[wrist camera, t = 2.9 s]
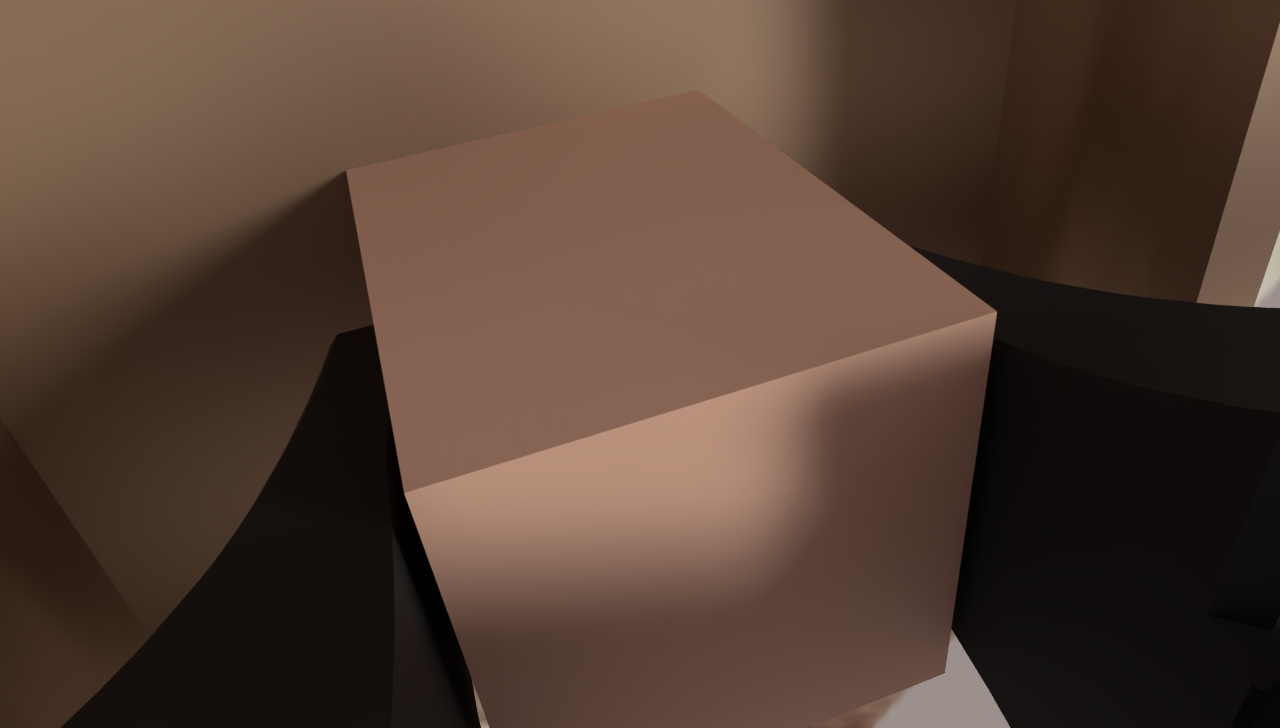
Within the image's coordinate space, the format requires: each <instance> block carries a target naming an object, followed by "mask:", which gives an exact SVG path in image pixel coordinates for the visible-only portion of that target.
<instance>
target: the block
mask: <svg viewBox="0 0 1280 728" xmlns="http://www.w3.org/2000/svg"><path fill="white" fill-rule="evenodd" d="M346 173H347V179H348V184H349V190H350V195H351V201H352V206H353V212H354V217H355V223H356V229H357V234H358V240H359V245H360V251H361V256H362V262H363V267H364V273H365V278H366V284H367V290H368V295H369V301H370V306H371V312H372V317H373V323H374V328H375V334H376V340H377V345H378V351H379V356H380V362H381V367H382V373H383V378H384V384H385V389H386V395H387V401H388V406H389V412H390V417H391V423H392V428H393V434H394V439H395V445H396V451H397V456H398V462H399V467H400V473H401V478H402V484H403V489H404V494H405V497H406V500H407V502H408V505H409V508H410V510H411V513H412V516H413V519H414V521H415V524H416V527H417V530H418V532H419V535H420V538H421V541H422V543H423V546H424V549H425V552H426V554H427V557H428V560H429V563H430V565H431V568H432V571H433V573H434V576H435V579H436V582H437V584H438V587H439V590H440V593H441V595H442V598H443V601H444V604H445V606H446V609H447V612H448V615H449V617H450V620H451V623H452V626H453V628H454V631H455V634H456V636H457V639H458V642H459V645H460V647H461V650H462V653H463V656H464V658H465V661H466V664H467V667H468V669H469V672H470V675H471V678H472V680H473V683H474V686H475V689H476V691H477V694H478V697H479V700H480V702H481V705H482V708H483V710H484V713H485V716H486V719H487V721H488V724H489V727H490V728H808V727H810V726H813V725H815V724H818V723H821V722H823V721H826V720H828V719H831V718H833V717H836V716H838V715H841V714H843V713H846V712H848V711H851V710H853V709H856V708H858V707H861V706H863V705H866V704H868V703H871V702H873V701H876V700H878V699H881V698H883V697H886V696H888V695H891V694H894V693H896V692H899V691H901V690H904V689H906V688H909V687H911V686H914V685H916V684H919V683H921V682H923V681H926V680H929V679H931V678H934V677H936V676H939V675H941V674H944V673H945V667H946V660H947V654H948V647H949V640H950V633H951V626H952V619H953V612H954V605H955V599H956V592H957V585H958V578H959V571H960V564H961V557H962V550H963V543H964V536H965V530H966V523H967V516H968V509H969V502H970V495H971V488H972V481H973V474H974V467H975V461H976V454H977V447H978V440H979V433H980V426H981V419H982V412H983V405H984V399H985V392H986V385H987V378H988V371H989V364H990V357H991V350H992V343H993V336H994V330H995V323H996V316H997V311H996V310H994V309H993V308H992V307H990V306H989V305H988V304H986V303H985V302H984V301H982V300H981V299H980V298H978V297H977V296H976V295H974V294H973V293H971V292H970V291H969V290H967V289H966V288H965V287H963V286H962V285H961V284H959V283H958V282H957V281H955V280H954V279H953V278H951V277H950V276H949V275H947V274H946V273H945V272H943V271H942V270H941V269H939V268H938V267H937V266H935V265H934V264H932V263H931V262H930V261H928V260H927V259H926V258H924V257H923V256H922V255H920V254H919V253H918V252H916V251H915V250H914V249H912V248H911V247H910V246H908V245H907V244H906V243H904V242H903V241H902V240H900V239H899V238H897V237H896V236H895V235H893V234H892V233H891V232H889V231H888V230H887V229H885V228H884V227H883V226H881V225H880V224H879V223H877V222H876V221H875V220H873V219H872V218H871V217H869V216H868V215H867V214H865V213H864V212H862V211H861V210H860V209H858V208H857V207H856V206H854V205H853V204H852V203H850V202H849V201H848V200H846V199H845V198H844V197H842V196H841V195H840V194H838V193H837V192H836V191H834V190H833V189H832V188H830V187H829V186H828V185H826V184H825V183H823V182H822V181H821V180H819V179H818V178H817V177H815V176H814V175H813V174H811V173H810V172H809V171H807V170H806V169H805V168H803V167H802V166H801V165H799V164H798V163H797V162H795V161H794V160H793V159H791V158H790V157H788V156H787V155H786V154H784V153H783V152H782V151H780V150H779V149H778V148H776V147H775V146H774V145H772V144H771V143H770V142H768V141H767V140H766V139H764V138H763V137H762V136H760V135H759V134H758V133H756V132H755V131H753V130H752V129H751V128H749V127H748V126H747V125H745V124H744V123H743V122H741V121H740V120H739V119H737V118H736V117H735V116H733V115H732V114H731V113H729V112H728V111H727V110H725V109H724V108H723V107H721V106H720V105H719V104H717V103H716V102H714V101H713V100H712V99H710V98H709V97H708V96H706V95H705V94H704V93H702V92H701V91H700V90H694V91H690V92H686V93H681V94H677V95H672V96H668V97H664V98H659V99H655V100H651V101H646V102H642V103H638V104H633V105H629V106H624V107H620V108H616V109H611V110H607V111H603V112H598V113H594V114H589V115H585V116H581V117H576V118H572V119H568V120H563V121H559V122H554V123H550V124H546V125H541V126H537V127H533V128H528V129H524V130H520V131H515V132H511V133H506V134H502V135H498V136H493V137H489V138H485V139H480V140H476V141H471V142H467V143H463V144H458V145H454V146H450V147H445V148H441V149H437V150H432V151H428V152H423V153H419V154H415V155H410V156H406V157H402V158H397V159H393V160H388V161H384V162H380V163H375V164H371V165H367V166H362V167H358V168H354V169H349V170H346Z"/></svg>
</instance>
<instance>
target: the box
mask: <svg viewBox="0 0 1280 728" xmlns="http://www.w3.org/2000/svg"><path fill="white" fill-rule="evenodd" d="M694 90H700V91H701V92H702V93H704V94H705V95H706V96H708V97H709V98H710V99H712V100H713V101H714V102H716V103H717V104H719V105H720V106H721V107H723V108H724V109H725V110H727V111H728V112H729V113H731V114H732V115H733V116H735V117H736V118H737V119H739V120H740V121H741V122H743V123H744V124H745V125H747V126H748V127H749V128H751V129H752V130H753V131H755V132H756V133H758V134H759V135H760V136H762V137H763V138H764V139H766V140H767V141H768V142H770V143H771V144H772V145H774V146H775V147H776V148H778V149H779V150H780V151H782V152H783V153H784V154H786V155H787V156H788V157H790V158H791V159H793V160H794V161H795V162H797V163H798V164H799V165H801V166H802V167H803V168H805V169H806V170H807V171H809V172H810V173H811V174H813V175H814V176H815V177H817V178H818V179H819V180H821V181H822V182H823V183H825V184H826V185H828V186H829V187H830V188H832V189H833V190H834V191H836V192H837V193H838V194H840V195H841V196H842V197H844V198H845V199H846V200H848V201H849V202H850V203H852V204H853V205H854V206H856V207H857V208H858V209H860V210H861V211H862V212H864V213H865V214H867V215H868V216H869V217H871V218H872V219H873V220H875V221H876V222H877V223H879V224H880V225H881V226H883V227H884V228H885V229H887V230H888V231H889V232H891V233H892V234H893V235H895V236H896V237H897V238H899V239H900V240H902V241H903V242H904V243H906V244H907V245H909V246H913V247H916V248H919V249H923V250H926V251H929V252H933V253H936V254H940V255H943V256H947V257H950V258H954V259H957V260H961V261H965V262H968V263H972V264H976V265H980V266H984V267H988V268H992V269H996V270H1000V271H1004V272H1008V273H1012V274H1016V275H1020V276H1025V277H1029V278H1034V279H1039V280H1043V281H1048V282H1054V283H1059V284H1065V285H1071V286H1076V287H1082V288H1088V289H1093V290H1099V291H1105V292H1111V293H1118V294H1125V295H1132V296H1140V297H1147V298H1157V299H1167V300H1176V301H1186V302H1196V303H1205V304H1216V305H1231V306H1246V307H1254V304H1255V301H1256V298H1257V295H1258V292H1259V289H1260V287H1261V284H1262V281H1263V278H1264V275H1265V272H1266V269H1267V266H1268V263H1269V260H1270V257H1271V254H1272V251H1273V249H1274V246H1275V243H1276V240H1277V237H1278V234H1279V231H1280V0H0V728H61V727H62V726H63V725H64V724H65V723H66V722H67V721H68V720H69V719H70V718H71V717H72V716H73V715H74V714H75V713H76V712H77V711H78V710H79V709H80V708H81V707H82V706H83V705H85V704H86V703H87V702H88V701H89V700H90V699H91V698H92V697H93V696H94V695H95V694H96V693H97V692H98V691H99V690H100V689H101V688H102V687H103V686H104V685H105V684H106V683H107V682H108V681H109V680H110V679H111V678H112V677H113V676H114V675H115V674H116V673H117V672H118V671H119V670H120V669H121V668H122V667H123V666H124V664H125V663H126V662H127V661H128V660H129V659H130V658H131V657H132V656H133V655H134V654H135V653H136V652H137V651H138V650H139V649H140V648H141V647H142V646H143V645H144V643H145V642H146V641H147V640H148V639H149V638H150V636H151V635H152V634H153V633H154V632H155V631H156V630H157V628H158V627H159V626H160V625H161V624H162V623H163V621H164V620H165V619H166V618H167V617H168V616H169V615H170V613H171V612H172V611H173V610H174V609H175V608H176V606H177V605H178V604H179V603H180V602H181V601H182V599H183V598H184V597H185V596H186V595H187V594H188V593H189V591H190V590H191V589H192V588H193V587H194V586H195V584H196V583H197V582H198V581H199V580H200V579H201V577H202V576H203V575H204V574H205V572H206V571H207V570H208V569H209V567H210V566H211V565H212V563H213V562H214V561H215V559H216V558H217V557H218V555H219V554H220V553H221V551H222V550H223V549H224V547H225V546H226V544H227V543H228V542H229V540H230V539H231V537H232V536H233V535H234V533H235V532H236V530H237V529H238V527H239V526H240V524H241V523H242V521H243V520H244V518H245V516H246V515H247V513H248V512H249V510H250V509H251V507H252V506H253V504H254V502H255V501H256V499H257V497H258V496H259V494H260V492H261V490H262V489H263V487H264V485H265V483H266V482H267V480H268V478H269V476H270V475H271V473H272V471H273V469H274V468H275V466H276V464H277V462H278V461H279V459H280V457H281V455H282V454H283V452H284V450H285V448H286V446H287V444H288V442H289V440H290V438H291V436H292V434H293V432H294V430H295V428H296V426H297V423H298V421H299V419H300V417H301V415H302V413H303V411H304V409H305V407H306V405H307V403H308V400H309V398H310V396H311V393H312V391H313V389H314V386H315V384H316V382H317V379H318V377H319V374H320V372H321V369H322V367H323V364H324V362H325V359H326V356H327V354H328V351H329V348H330V345H331V344H332V342H333V340H334V339H335V337H336V336H337V334H340V333H344V332H347V331H351V330H355V329H359V328H363V327H366V326H370V325H374V323H373V317H372V312H371V306H370V301H369V295H368V290H367V284H366V278H365V273H364V267H363V262H362V256H361V251H360V245H359V240H358V234H357V229H356V223H355V217H354V212H353V206H352V201H351V195H350V190H349V184H348V179H347V173H346V170H349V169H354V168H358V167H362V166H367V165H371V164H375V163H380V162H384V161H388V160H393V159H397V158H402V157H406V156H410V155H415V154H419V153H423V152H428V151H432V150H437V149H441V148H445V147H450V146H454V145H458V144H463V143H467V142H471V141H476V140H480V139H485V138H489V137H493V136H498V135H502V134H506V133H511V132H515V131H520V130H524V129H528V128H533V127H537V126H541V125H546V124H550V123H554V122H559V121H563V120H568V119H572V118H576V117H581V116H585V115H589V114H594V113H598V112H603V111H607V110H611V109H616V108H620V107H624V106H629V105H633V104H638V103H642V102H646V101H651V100H655V99H659V98H664V97H668V96H672V95H677V94H681V93H686V92H690V91H694Z"/></svg>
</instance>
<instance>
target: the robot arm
mask: <svg viewBox="0 0 1280 728" xmlns="http://www.w3.org/2000/svg"><path fill="white" fill-rule="evenodd" d="M908 246H909V245H908ZM910 247H911V248H912V249H914V250H915V251H916V252H918V253H919V254H920V255H922V256H923V257H924V258H926V259H927V260H928V261H930V262H931V263H932V264H934V265H935V266H937V267H938V268H939V269H941V270H942V271H943V272H945V273H946V274H947V275H949V276H950V277H951V278H953V279H954V280H955V281H957V282H958V283H959V284H961V285H962V286H963V287H965V288H966V289H967V290H969V291H970V292H971V293H973V294H974V295H976V296H977V297H978V298H980V299H981V300H982V301H984V302H985V303H986V304H988V305H989V306H990V307H992V308H993V309H994V310H996V311H997V316H996V323H995V330H994V336H993V343H992V350H991V357H990V364H989V371H988V378H987V385H986V392H985V399H984V405H983V412H982V419H981V426H980V433H979V440H978V447H977V454H976V461H975V467H974V474H973V481H972V488H971V495H970V502H969V509H968V516H967V523H966V530H965V536H964V543H963V550H962V557H961V564H960V571H959V578H958V585H957V592H956V599H955V605H954V612H953V619H952V626H951V629H952V630H953V632H954V634H955V635H956V637H957V638H958V640H959V642H960V643H961V645H962V646H963V648H964V650H965V651H966V653H967V655H968V656H969V658H970V660H971V661H972V663H973V665H974V666H975V668H976V669H977V671H978V673H979V674H980V676H981V678H982V679H983V681H984V682H985V684H986V686H987V687H988V689H989V691H990V693H991V694H992V696H993V698H994V700H995V701H996V703H997V705H998V707H999V708H1000V710H1001V712H1002V714H1003V715H1004V717H1005V719H1006V720H1007V722H1008V724H1009V726H1010V728H1280V308H1261V307H1246V306H1231V305H1216V304H1205V303H1196V302H1186V301H1176V300H1167V299H1157V298H1147V297H1140V296H1132V295H1125V294H1118V293H1111V292H1105V291H1099V290H1093V289H1088V288H1082V287H1076V286H1071V285H1065V284H1059V283H1054V282H1048V281H1043V280H1039V279H1034V278H1029V277H1025V276H1020V275H1016V274H1012V273H1008V272H1004V271H1000V270H996V269H992V268H988V267H984V266H980V265H976V264H972V263H968V262H965V261H961V260H957V259H954V258H950V257H947V256H943V255H940V254H936V253H933V252H929V251H926V250H923V249H919V248H916V247H913V246H910ZM61 728H481V726H480V722H479V717H478V712H477V707H476V701H475V696H474V690H473V684H472V679H471V675H470V672H469V669H468V667H467V664H466V661H465V658H464V656H463V653H462V650H461V647H460V645H459V642H458V639H457V636H456V634H455V631H454V628H453V626H452V623H451V620H450V617H449V615H448V612H447V609H446V606H445V604H444V601H443V598H442V595H441V593H440V590H439V587H438V584H437V582H436V579H435V576H434V573H433V571H432V568H431V565H430V563H429V560H428V557H427V554H426V552H425V549H424V546H423V543H422V541H421V538H420V535H419V532H418V530H417V527H416V524H415V521H414V519H413V516H412V513H411V510H410V508H409V505H408V502H407V500H406V497H405V494H404V489H403V484H402V478H401V473H400V467H399V462H398V456H397V451H396V445H395V439H394V434H393V428H392V423H391V417H390V412H389V406H388V401H387V395H386V389H385V384H384V378H383V373H382V367H381V362H380V356H379V351H378V345H377V340H376V334H375V328H374V325H370V326H366V327H363V328H359V329H355V330H351V331H347V332H344V333H340V334H337V336H336V337H335V339H334V340H333V342H332V344H331V345H330V348H329V351H328V354H327V356H326V359H325V362H324V364H323V367H322V369H321V372H320V374H319V377H318V379H317V382H316V384H315V386H314V389H313V391H312V393H311V396H310V398H309V400H308V403H307V405H306V407H305V409H304V411H303V413H302V415H301V417H300V419H299V421H298V423H297V426H296V428H295V430H294V432H293V434H292V436H291V438H290V440H289V442H288V444H287V446H286V448H285V450H284V452H283V454H282V455H281V457H280V459H279V461H278V462H277V464H276V466H275V468H274V469H273V471H272V473H271V475H270V476H269V478H268V480H267V482H266V483H265V485H264V487H263V489H262V490H261V492H260V494H259V496H258V497H257V499H256V501H255V502H254V504H253V506H252V507H251V509H250V510H249V512H248V513H247V515H246V516H245V518H244V520H243V521H242V523H241V524H240V526H239V527H238V529H237V530H236V532H235V533H234V535H233V536H232V537H231V539H230V540H229V542H228V543H227V544H226V546H225V547H224V549H223V550H222V551H221V553H220V554H219V555H218V557H217V558H216V559H215V561H214V562H213V563H212V565H211V566H210V567H209V569H208V570H207V571H206V572H205V574H204V575H203V576H202V577H201V579H200V580H199V581H198V582H197V583H196V584H195V586H194V587H193V588H192V589H191V590H190V591H189V593H188V594H187V595H186V596H185V597H184V598H183V599H182V601H181V602H180V603H179V604H178V605H177V606H176V608H175V609H174V610H173V611H172V612H171V613H170V615H169V616H168V617H167V618H166V619H165V620H164V621H163V623H162V624H161V625H160V626H159V627H158V628H157V630H156V631H155V632H154V633H153V634H152V635H151V636H150V638H149V639H148V640H147V641H146V642H145V643H144V645H143V646H142V647H141V648H140V649H139V650H138V651H137V652H136V653H135V654H134V655H133V656H132V657H131V658H130V659H129V660H128V661H127V662H126V663H125V664H124V666H123V667H122V668H121V669H120V670H119V671H118V672H117V673H116V674H115V675H114V676H113V677H112V678H111V679H110V680H109V681H108V682H107V683H106V684H105V685H104V686H103V687H102V688H101V689H100V690H99V691H98V692H97V693H96V694H95V695H94V696H93V697H92V698H91V699H90V700H89V701H88V702H87V703H86V704H85V705H83V706H82V707H81V708H80V709H79V710H78V711H77V712H76V713H75V714H74V715H73V716H72V717H71V718H70V719H69V720H68V721H67V722H66V723H65V724H64V725H63V726H62V727H61Z"/></svg>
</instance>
